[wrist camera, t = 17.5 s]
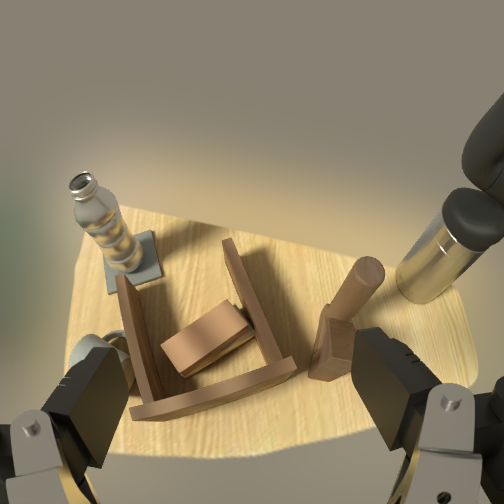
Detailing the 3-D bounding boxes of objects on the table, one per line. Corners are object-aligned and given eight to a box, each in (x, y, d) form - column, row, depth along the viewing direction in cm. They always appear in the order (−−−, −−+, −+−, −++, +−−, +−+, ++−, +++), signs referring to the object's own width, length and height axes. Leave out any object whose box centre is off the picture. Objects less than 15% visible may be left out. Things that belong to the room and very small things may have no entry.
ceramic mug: (127, 405, 37) (105, 400, 31) (85, 381, 39) (60, 371, 32) (153, 345, 43) (136, 329, 36) (111, 325, 44) (91, 307, 37)
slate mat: (151, 231, 53) (150, 229, 53) (162, 277, 48) (161, 275, 48) (103, 248, 51) (102, 246, 51) (109, 294, 47) (107, 293, 46)
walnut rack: (233, 259, 50) (229, 214, 40) (285, 381, 40) (297, 368, 30) (129, 293, 47) (99, 256, 37) (163, 421, 36) (132, 420, 26)
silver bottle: (146, 275, 48) (99, 194, 31) (110, 280, 47) (53, 205, 30) (147, 243, 51) (108, 158, 34) (113, 248, 51) (65, 169, 34)
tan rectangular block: (235, 310, 46) (233, 294, 41) (255, 337, 44) (256, 326, 38) (168, 350, 42) (157, 340, 37) (186, 380, 40) (177, 374, 35)
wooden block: (306, 377, 40) (341, 350, 25) (320, 311, 45) (354, 250, 30) (330, 382, 40) (378, 357, 24) (343, 316, 45) (386, 257, 30)
